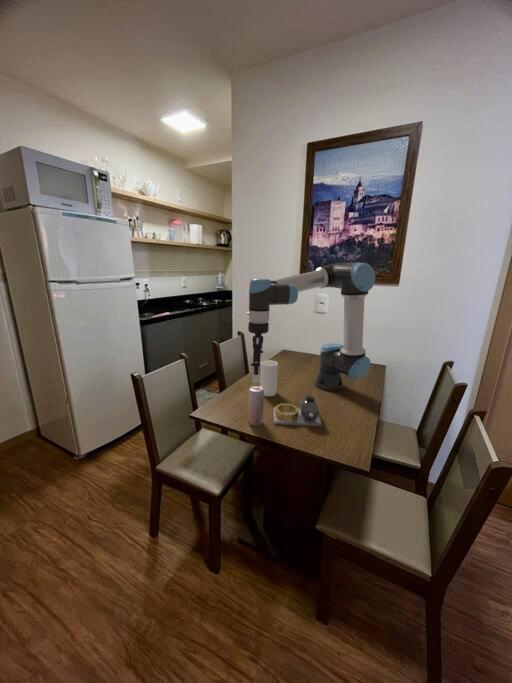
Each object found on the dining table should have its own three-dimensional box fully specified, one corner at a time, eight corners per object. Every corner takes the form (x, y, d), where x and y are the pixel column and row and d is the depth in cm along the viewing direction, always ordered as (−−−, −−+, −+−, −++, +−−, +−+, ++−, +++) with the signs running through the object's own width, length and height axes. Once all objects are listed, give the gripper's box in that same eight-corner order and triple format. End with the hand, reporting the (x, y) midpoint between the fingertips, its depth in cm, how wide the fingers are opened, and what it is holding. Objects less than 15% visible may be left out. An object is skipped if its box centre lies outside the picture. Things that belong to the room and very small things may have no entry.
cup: (278, 391, 142) (280, 361, 138) (272, 397, 135) (274, 366, 130) (263, 388, 145) (265, 359, 141) (257, 394, 138) (258, 364, 134)
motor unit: (316, 412, 122) (318, 391, 119) (321, 427, 111) (323, 404, 108) (273, 410, 123) (274, 389, 120) (274, 425, 111) (275, 402, 109)
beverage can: (247, 418, 116) (248, 385, 112) (262, 418, 116) (263, 385, 112) (248, 426, 110) (249, 391, 106) (263, 426, 110) (265, 391, 106)
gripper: (250, 315, 114) (249, 363, 120) (245, 328, 90) (244, 388, 96) (268, 316, 114) (266, 364, 120) (268, 329, 90) (265, 389, 95)
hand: (256, 375), depth 108 cm, fingers open, 13 cm apart
